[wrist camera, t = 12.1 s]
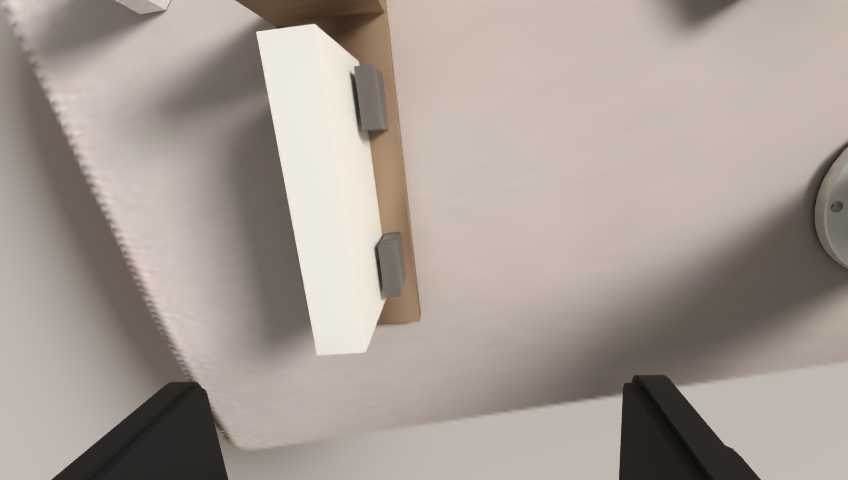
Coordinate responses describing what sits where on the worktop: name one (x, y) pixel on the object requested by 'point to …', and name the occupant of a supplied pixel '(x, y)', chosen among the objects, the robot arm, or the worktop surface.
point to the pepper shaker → (145, 5)
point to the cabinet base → (369, 128)
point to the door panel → (326, 183)
